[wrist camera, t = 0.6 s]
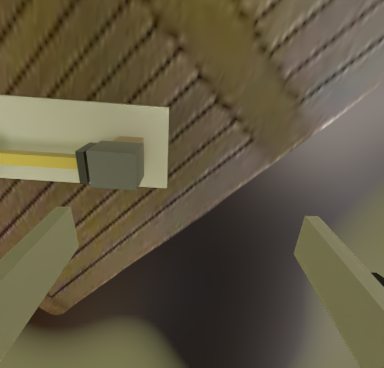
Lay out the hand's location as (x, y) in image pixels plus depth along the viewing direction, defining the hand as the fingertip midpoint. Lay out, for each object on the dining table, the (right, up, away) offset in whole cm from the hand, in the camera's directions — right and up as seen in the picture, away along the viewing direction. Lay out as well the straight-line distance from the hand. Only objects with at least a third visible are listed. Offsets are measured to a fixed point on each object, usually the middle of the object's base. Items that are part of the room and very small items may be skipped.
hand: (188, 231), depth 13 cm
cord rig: (-25, +10, +26) cm, 37 cm away
